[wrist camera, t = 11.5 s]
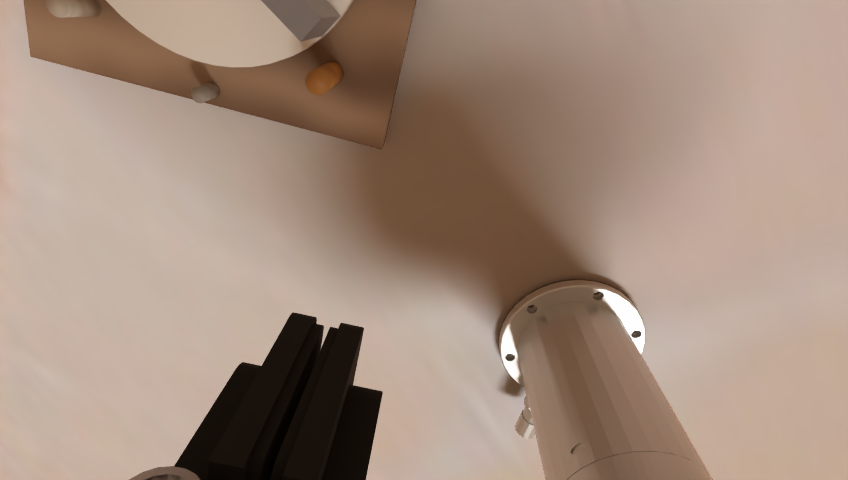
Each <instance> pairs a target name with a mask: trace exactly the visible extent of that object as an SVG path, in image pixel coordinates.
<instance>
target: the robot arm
mask: <svg viewBox="0 0 848 480" xmlns="http://www.w3.org/2000/svg"><path fill="white" fill-rule="evenodd" d="M316 321H317V320H316V317H312V316H307V315H303V314H298V313H292V314H291V315H290V317H289V318H288V320H287V322H286V324H285V326H284V327H283V329H282V331H281V333H280V334H279V336H278V338H277V340H276V342H275V343H274V345H273V347H272V349H271V350H270V352H269V354H268V356H267V357H266V359H265V361H264V363H263V365H262V366H258V365H254V364H249V363H244V362H242V363H241V364H239V366H238V367H237V368H236V370H235V371H234V373H233V374H232V376H231V378H230V379H229V381H228V382H227V384H226V385H225V387H224V389H223V390H222V392H221V393H220V395H219V396H218V398H217V400H216V401H215V403H214V404H213V406H212V408H211V409H210V411H209V412H208V414H207V415H206V417H205V419H204V420H203V422H202V423H201V425H200V426H199V428H198V430H197V431H196V433H195V434H194V436H193V437H192V439H191V441H190V442H189V444H188V445H187V447H186V449H185V450H184V452H183V453H182V455H181V456H180V458H179V460H178V461H177V463H176V464H175V466H170V467H158V468H155V469H151V470H148V471H145V472H142V473H140V474H139V475H137V476H135V477H133V478H131V479H130V480H366V475H367V470H368V465H369V460H370V455H371V449H372V444H373V439H374V434H375V429H376V424H377V419H378V414H379V408H380V403H381V398H382V391H377V390H372V389H368V388H363V387H358V386H353V381H354V376H355V371H356V366H357V361H358V356H359V351H360V346H361V341H362V336H363V330H364V328H363V327H358V326H354V325H349V324H344V323H341V324H340V326H339V328H338V329H337V328H333V327H330V329H329V331H328V333H327V336H326V338H325V341H324V343H323V346H322V348H321V343H322V337H323V330H324V326H323V325H319V324H316ZM644 343H645V327H644V323H643V319H642V317H641V316H640V314H639V312H638V310H637V309H636V307H635V306H634V304H633V303H632V302H631V301H630V299H629V298H628V297H626V296H625V295H624V294H623V293H621V292H620V291H618V290H616V289H615V288H613V287H611V286H609V285H605V284H602V283H599V282H595V281H586V280H570V281H563V282H558V283H553V284H550V285H548V286H545V287H542V288H540V289H538V290H536V291H534V292H532V293H531V294H529V295H527V296H526V297H525V298H523V299H522V300H521V301H520V302H518V303H517V304H516V305H515V306H514V308H513V309H512V310H511V311H510V312H509V313H508V315H507V317H506V319H505V321H504V322H503V324H502V328H501V331H500V335H499V348H500V356H501V359H502V362H503V365H504V367H505V369H506V370H507V372H508V374H509V375H510V376H511V377H512V378H513V379H514V380H515V381H516V382H517V383H518V384H520V385H521V386H523V387H524V388H525V392H526V397H525V399H524V404H525V406H526V407H525V409H524V410H523V411H522V413H521V415H520V417H519V419H518V421H517V423H516V425H515V428H516V431H517V432H518V434H519V435H521V436H522V437H524V438H532V437H533V436H534V435H535V433H536V438H537V442H538V447H539V452H540V456H541V461H542V465H543V470H544V474H545V479H546V480H713V479H712V477H711V476H710V474H709V472H708V471H707V469H706V467H705V465H704V464H703V462H702V460H701V458H700V457H699V455H698V453H697V451H696V450H695V448H694V446H693V444H692V443H691V441H690V439H689V437H688V436H687V434H686V432H685V430H684V429H683V427H682V425H681V423H680V422H679V420H678V418H677V416H676V415H675V413H674V411H673V409H672V408H671V406H670V404H669V402H668V401H667V399H666V397H665V395H664V394H663V392H662V390H661V388H660V387H659V385H658V383H657V381H656V380H655V378H654V376H653V374H652V373H651V371H650V369H649V367H648V366H647V364H646V362H645V360H644V359H643V357H642V355H641V353H642V351H643V347H644ZM320 350H321V351H320Z"/></svg>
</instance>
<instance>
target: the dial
mask: <svg viewBox="0 0 848 480" xmlns="http://www.w3.org/2000/svg"><path fill="white" fill-rule="evenodd" d="M106 1H107V2H108V3H109V4H110V5H111V6H112V7H113V8H114V9H115V10H116V11H117V12H118V13H119V14H120V15H121V16H122V17H123V18H124V19H125V20H126V21H128V22H129V23H130V24H131V25H132V26H134V27H135V28H136V29H137V30H138V31H140V32H141V33H143V34H144V35H146V36H147V37H149V38H150V39H152V40H153V41H154V42H156V43H157V44H159V45H161V46H163V47H165V48H167V49H169V50H171V51H173V52H175V53H177V54H179V55H182V56H184V57H187V58H190V59H192V60H195V61H199V62H203V63H207V64H211V65H215V66H224V67H232V68H235V67H255V66H261V65H267V64H271V63H274V62H277V61H280V60H283V59H286V58H289V57H292V56H294V55H296V54H298V53H300V52H302V51H304V50H306V49H308V48H310V47H311V46H313V45H314V44H315V43H317V42H318V41H320V40H321V39H322V38H324V37H325V36H326V35H327V34H328V33H329V32H330V31H331V30H332V29H333V28H334V27H335V26H336V25H337V24H338V23H339V22H340V20H341V19H342V18H343V16H344V15H345V14H346V13H347V11H348V10H349V8H350V7H351V5H352V3H353V1H354V0H106Z"/></svg>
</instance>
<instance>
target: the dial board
mask: <svg viewBox="0 0 848 480" xmlns="http://www.w3.org/2000/svg"><path fill="white" fill-rule="evenodd" d="M415 4H416V0H354V1H353V3H352V5H351V7H350V8H349V10H348V11H347V13H346V14H345V15H344V16H343V18H342V19H341V20H340V22H339V23H338V24H337V25H336V26H335V27H334V28H333V29H332V30H331V31H330V32H329V33H328V34H327V35H326V36H325V37H324V38H322V39H321V40H320V41H318V42H317V43H315V44H314V45H313V46H311V47H310V48H308V49H306V50H304V51H302V52H300V53H298V54H296V55H294V56H292V57H289V58H286V59H283V60H280V61H277V62H274V63H271V64H267V65H261V66H255V67H235V68H232V67H224V66H215V65H211V64H207V63H203V62H199V61H195V60H192V59H190V58H187V57H184V56H182V55H179V54H177V53H175V52H173V51H171V50H169V49H167V48H165V47H163V46H161V45H159V44H157V43H156V42H154V41H153V40H152V39H150V38H149V37H147V36H146V35H144V34H143V33H141V32H140V31H138V30H137V29H136V28H135V27H134V26H132V25H131V24H130V23H129V22H128V21H126V20H125V19H124V18H123V17H122V16H121V15H120V14H119V13H118V12H117V11H116V10H115V9H114V8H113V7H112V6H111V5H110V4H109V3H108V2H107V1H106V0H24V6H25V14H26V22H27V31H28V39H29V47H30V55H31V57H34V58H38V59H42V60H46V61H49V62H53V63H57V64H61V65H65V66H68V67H72V68H76V69H80V70H84V71H87V72H91V73H95V74H99V75H102V76H106V77H110V78H114V79H118V80H121V81H125V82H129V83H133V84H137V85H140V86H144V87H148V88H152V89H155V90H159V91H163V92H167V93H171V94H174V95H178V96H182V97H186V98H190V99H193V100H195V101H196V102H198V103H203V102H205V103H208V104H212V105H216V106H220V107H224V108H227V109H231V110H235V111H239V112H243V113H246V114H250V115H254V116H258V117H261V118H265V119H269V120H273V121H277V122H280V123H284V124H288V125H292V126H296V127H299V128H303V129H307V130H311V131H314V132H318V133H322V134H326V135H330V136H333V137H337V138H341V139H345V140H349V141H352V142H356V143H360V144H364V145H367V146H371V147H375V148H379V149H382V147H383V145H384V142H385V137H386V133H387V128H388V124H389V120H390V115H391V111H392V106H393V102H394V97H395V93H396V89H397V84H398V80H399V75H400V71H401V66H402V62H403V58H404V53H405V49H406V44H407V40H408V35H409V31H410V27H411V22H412V18H413V13H414V9H415Z"/></svg>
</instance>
